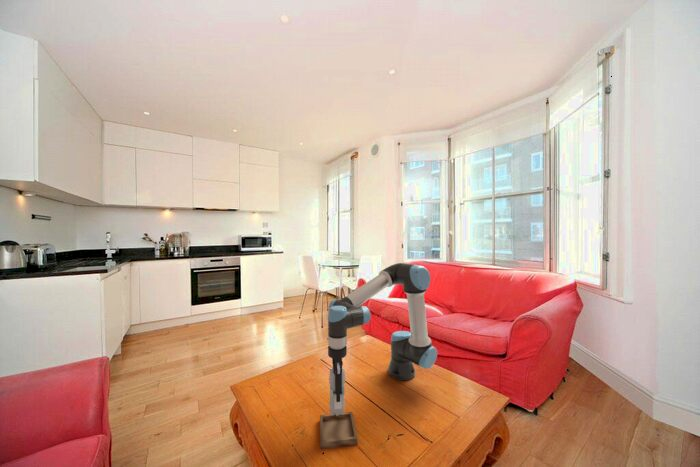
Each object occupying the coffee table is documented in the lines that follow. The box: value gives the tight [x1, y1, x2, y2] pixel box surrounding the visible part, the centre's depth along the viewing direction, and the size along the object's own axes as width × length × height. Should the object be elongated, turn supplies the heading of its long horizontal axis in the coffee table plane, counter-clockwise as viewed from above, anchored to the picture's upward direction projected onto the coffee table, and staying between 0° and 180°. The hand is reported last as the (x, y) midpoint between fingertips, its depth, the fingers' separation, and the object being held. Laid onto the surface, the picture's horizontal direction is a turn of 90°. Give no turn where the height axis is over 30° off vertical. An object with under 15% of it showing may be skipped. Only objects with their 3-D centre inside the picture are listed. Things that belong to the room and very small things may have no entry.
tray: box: [319, 411, 358, 450], centre depth 100 cm, size 14×14×2 cm
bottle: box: [328, 367, 346, 416], centre depth 100 cm, size 7×7×20 cm
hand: (337, 402), depth 100 cm, fingers closed on bottle, 6 cm apart
